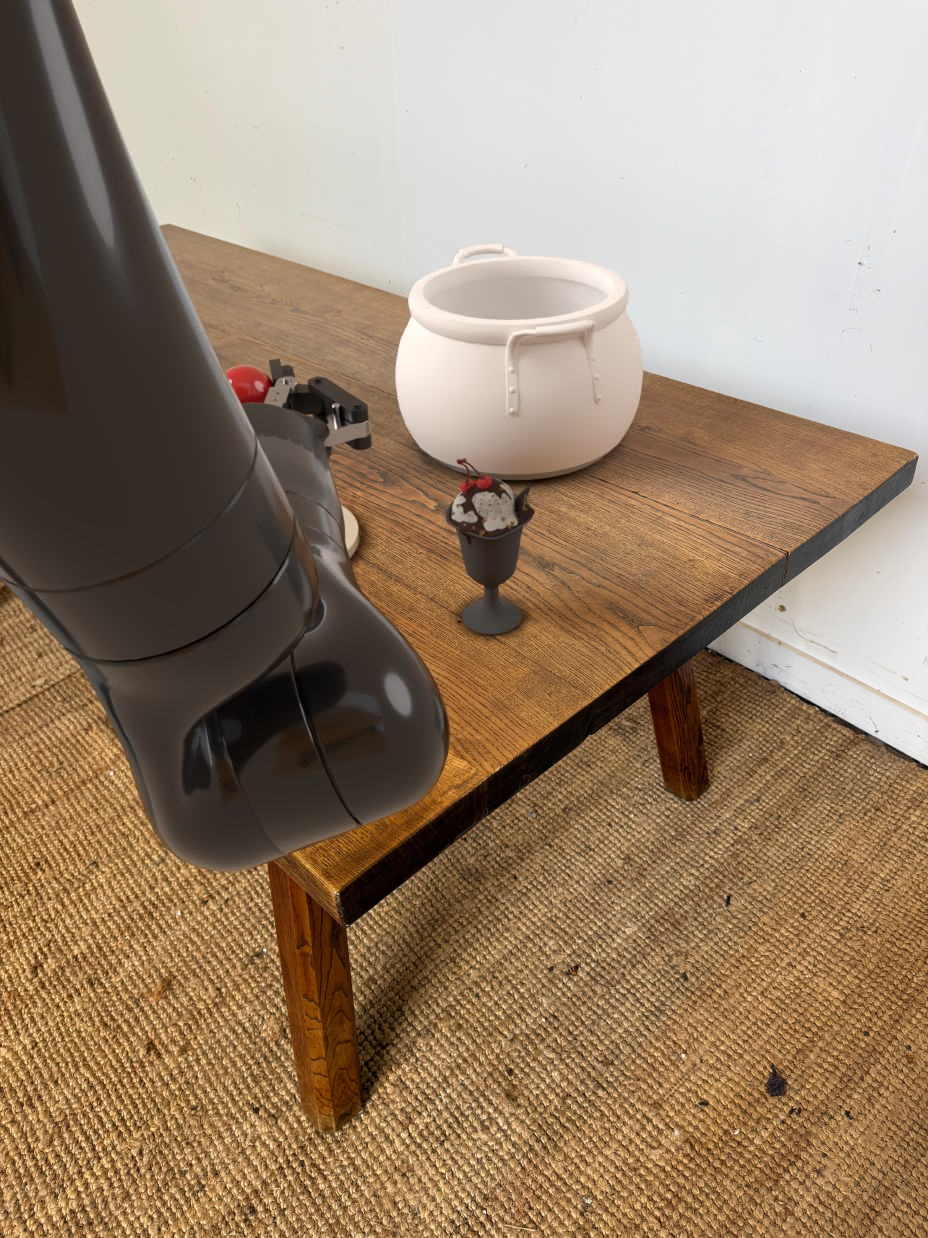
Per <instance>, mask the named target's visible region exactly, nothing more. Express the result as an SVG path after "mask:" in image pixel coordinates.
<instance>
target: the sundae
mask: <svg viewBox="0 0 928 1238" xmlns="http://www.w3.org/2000/svg"><path fill="white" fill-rule="evenodd" d="M457 463H458V464H461V465H463V466H464V467H466V469H467V474H466V478H465V480H464V481H462V482H461V484H460V491H461V492H460V493H459V494H458V495H457V496H456V498H455V499H453V500H452V501H451V503H450V504H449V505H448V506H447V509H446V511H445V514H444V515H445V516H444V517H445V518H444V519H445V522H446V524H448V525H449V526H451V527H452V528H454V529H455V531H456V534H457V537H458V540H459V545H460V551H461V556H462V562H463V565H464V569H465V571H466V574H467V576H468V577H469V578H470V579H472V580H473V581H474V582H475V583H476V584H478V585H481V586H483V598H481V599H478V600H475V601H473V602H472V603H471V604H469V605H468V606H466V607H465V609H464V611H463V613H462V622H463V624H464V625H465V626H466V627H467V628H468V629H469V630H471V631H473V632H474V633H477V634H480V635H486V636H496V635H503V634H507V633H509V632H511V631H512V630H514V629H515V628H517V627H518V626H519V625H520V623H521V621H522V619H523V615H522V614H523V613H522V610H521V609H520V607H519V606H517V604H516V603H514V602H512V601H510V600H508V599H505V598H502V597H500V586H501V585H503V584H505V582H507V581H508V580H510V578H511V577H512V576H513V575H514V574H515V572H516V568H517V566H518V565H517V564H518V560H519V554H520V547H521V538H522V534H523V530H524V526H526V525H527V524H528V523H530V522H531V520H533V518H534V515H535V513H536V511H535V509H534V508H533V507H532V506H531V505H530V503H529V502H528V501H529V495H530V489H531V488H530V486H529V485H527V486H526V487H525V488H524V489H522V491H520V493H519V494H516V493H514V492H513V490H512V488H511V486H510V485H509V484H508V483H505V482H504V481H502V480H500V479H494V478H490V477H488V476H481V474H480V473H479V472H478V471H477V470H476V469H475V468H474V467H473V466H472V465H471V464H470V463H468V462H466V458H464V459H457ZM463 463H466V464H468V465H469V466H471V467H472V469H473V470H474V471H475V472H476V473H477V474H478V475H479V477H478V478H477V480H476V481H474V480H471V479H470V476H471V475H470V473H469V469H468V467H467V466H466V465H464V464H463Z"/></svg>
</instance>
